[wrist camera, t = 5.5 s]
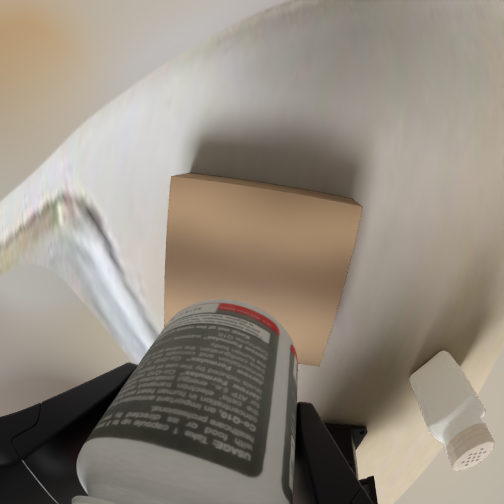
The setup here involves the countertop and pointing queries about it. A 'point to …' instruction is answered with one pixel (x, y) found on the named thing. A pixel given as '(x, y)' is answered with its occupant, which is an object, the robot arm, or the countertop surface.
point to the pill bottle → (201, 415)
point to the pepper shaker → (452, 410)
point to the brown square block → (260, 252)
